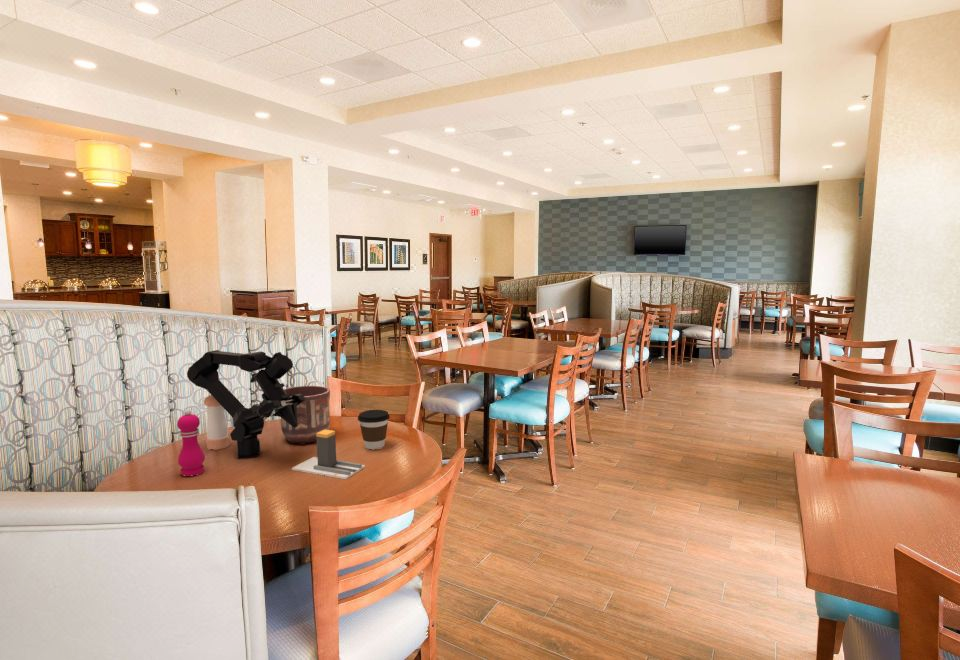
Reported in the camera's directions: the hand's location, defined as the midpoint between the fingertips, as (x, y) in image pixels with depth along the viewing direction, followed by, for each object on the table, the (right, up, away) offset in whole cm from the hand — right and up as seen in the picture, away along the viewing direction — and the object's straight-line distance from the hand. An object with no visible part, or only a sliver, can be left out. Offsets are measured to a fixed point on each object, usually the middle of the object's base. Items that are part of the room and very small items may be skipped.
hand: (296, 427), depth 167 cm
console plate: (+11, -12, -3) cm, 17 cm away
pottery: (-5, -9, +25) cm, 27 cm away
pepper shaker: (-34, -10, +18) cm, 39 cm away
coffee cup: (+22, -10, +16) cm, 29 cm away
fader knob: (+11, -12, -3) cm, 16 cm away
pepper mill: (-30, -13, -6) cm, 33 cm away
